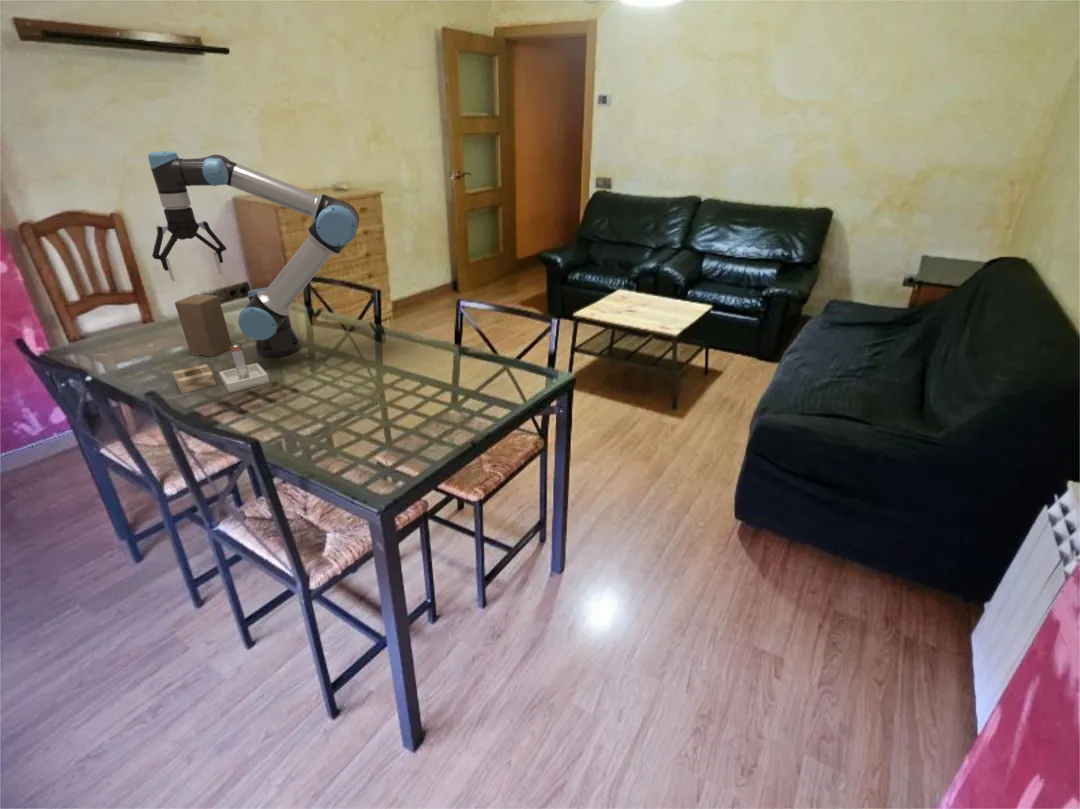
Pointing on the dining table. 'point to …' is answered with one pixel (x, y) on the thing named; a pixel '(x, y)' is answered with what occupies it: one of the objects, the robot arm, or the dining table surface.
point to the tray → (235, 384)
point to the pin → (239, 361)
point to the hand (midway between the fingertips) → (197, 276)
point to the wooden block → (203, 324)
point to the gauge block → (194, 378)
